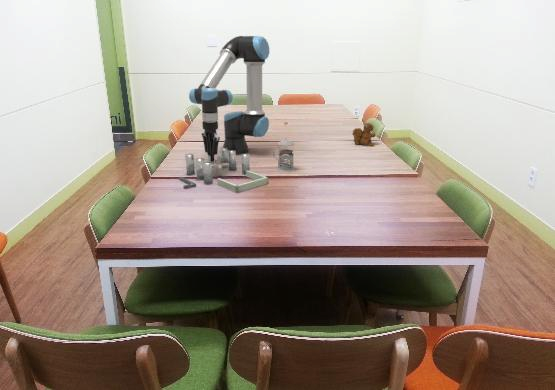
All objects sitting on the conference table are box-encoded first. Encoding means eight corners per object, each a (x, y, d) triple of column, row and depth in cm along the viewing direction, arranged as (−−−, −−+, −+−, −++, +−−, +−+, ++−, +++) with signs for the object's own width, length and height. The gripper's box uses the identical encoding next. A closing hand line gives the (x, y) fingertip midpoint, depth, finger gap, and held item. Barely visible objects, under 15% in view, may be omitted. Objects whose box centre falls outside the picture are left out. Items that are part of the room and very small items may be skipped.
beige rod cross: (211, 179, 220) (211, 160, 216) (206, 171, 228) (206, 153, 224) (231, 177, 223) (231, 159, 219) (226, 170, 232) (226, 151, 227)
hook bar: (170, 181, 217) (170, 179, 216) (181, 179, 220) (181, 176, 220) (185, 189, 207) (184, 186, 206) (196, 186, 210) (195, 183, 210)
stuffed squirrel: (375, 146, 275) (376, 125, 271) (351, 145, 277) (352, 124, 273) (374, 142, 285) (375, 122, 280) (351, 142, 287) (352, 121, 282)
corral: (248, 176, 224) (248, 170, 223) (268, 183, 213) (268, 177, 212) (217, 184, 212) (217, 178, 211) (237, 192, 202) (236, 186, 200)
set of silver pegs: (224, 164, 243) (223, 146, 240) (251, 173, 227) (251, 154, 224) (182, 174, 227) (181, 155, 224) (208, 185, 211) (207, 165, 208)
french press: (293, 172, 228) (293, 123, 219) (271, 171, 230) (270, 123, 222) (296, 167, 237) (297, 119, 228) (275, 165, 239) (274, 119, 231)
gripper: (196, 119, 222) (198, 165, 230) (210, 124, 213) (212, 171, 221) (209, 118, 226) (210, 163, 235) (224, 122, 217) (224, 168, 226)
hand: (211, 167), depth 228 cm, fingers closed
